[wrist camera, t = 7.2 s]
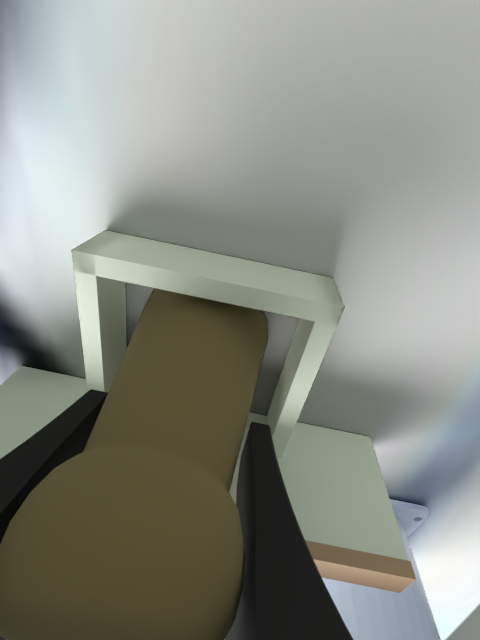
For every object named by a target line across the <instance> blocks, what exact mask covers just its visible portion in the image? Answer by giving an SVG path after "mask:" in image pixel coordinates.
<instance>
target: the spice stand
mask: <svg viewBox="0 0 480 640" xmlns="http://www.w3.org/2000/svg"><path fill="white" fill-rule="evenodd" d="M72 259H73V268H74V276H75V285H76V294H77V303H78V312H79V321H80V330H81V338H82V347H83V356H84V365H85V374H86V379H84V378H79V377H74V376H69V375H64V374H59V373H54V372H49V371H45V370H40V369H35V368H30V367H25V366H21V367H20V368H19V369H18V370H17V371H16V372H14V373H13V374H12V375H11V376H10V377H9V378H8V379H7V380H6V381H5V382H4V383H3V384H2V385H0V459H1V458H2V457H4V456H5V455H6V454H8V453H9V452H11V451H12V450H13V449H15V448H16V447H18V446H19V445H20V444H22V443H23V442H25V441H26V440H27V439H29V438H30V437H31V436H33V435H34V434H35V433H37V432H38V431H39V430H40V429H42V428H43V427H44V426H46V425H47V424H48V423H50V422H51V421H52V420H53V419H55V418H56V417H57V416H58V415H60V414H61V413H62V412H63V411H65V410H66V409H67V408H68V407H69V406H71V405H72V404H73V403H74V402H76V401H77V400H78V399H79V398H80V397H82V396H83V395H84V394H85V393H86V392H88V391H89V390H91V389H93V390H98V391H103V392H109V390H110V387H111V385H112V382H113V380H114V378H115V375H116V373H117V371H118V368H119V366H120V364H121V361H122V359H123V356H124V354H125V352H126V349H127V340H126V282H128V283H133V284H138V285H142V286H147V287H152V288H157V289H162V290H166V291H171V292H176V293H181V294H186V295H190V296H195V297H200V298H205V299H210V300H214V301H219V302H224V303H229V304H234V305H238V306H243V307H248V308H253V309H258V310H262V311H267V312H272V313H277V314H282V315H286V316H291V317H296V318H299V321H298V324H297V327H296V330H295V333H294V336H293V339H292V342H291V345H290V348H289V351H288V354H287V357H286V360H285V363H284V366H283V369H282V372H281V375H280V378H279V381H278V384H277V387H276V390H275V393H274V396H273V399H272V402H271V405H270V408H269V411H268V414H267V416H265V415H260V414H255V413H250V412H249V415H248V419H247V423H246V427H245V431H244V435H243V439H242V443H241V447H240V451H239V455H238V459H237V463H236V467H235V471H234V475H233V479H232V483H231V487H230V491H229V493H230V495H231V497H232V499H233V500H234V502H235V504H236V492H237V481H238V473H239V466H240V458H241V454H242V451H243V447H244V444H245V441H246V437H247V434H248V431H249V427H250V424H251V421H252V422H256V423H261V424H266V425H269V426H270V428H271V434H272V439H273V444H274V448H275V453H276V457H277V460H278V464H279V468H280V471H281V475H282V478H283V481H284V484H285V487H286V491H287V494H288V497H289V500H290V502H291V505H292V508H293V511H294V513H295V516H296V519H297V522H298V524H299V527H300V529H301V532H302V534H303V537H304V539H305V542H306V544H307V546H308V549H309V551H310V553H311V555H312V558H313V560H314V562H315V564H316V566H317V569H318V571H319V573H320V575H321V577H322V578H327V579H332V580H337V581H342V582H347V583H352V584H357V585H362V586H367V587H372V588H377V589H382V590H387V591H392V592H397V593H400V592H402V591H403V590H404V589H405V588H406V587H408V586H409V585H410V584H411V583H413V582H414V581H415V580H416V577H415V574H414V571H413V568H412V565H411V561H409V560H408V557H407V553H406V550H405V547H404V544H403V540H402V537H401V534H400V531H399V528H398V524H397V521H396V518H395V515H394V511H393V508H392V505H391V502H390V499H389V495H388V492H387V489H386V486H385V483H384V479H383V476H382V473H381V470H380V466H379V463H378V460H377V457H376V454H375V450H374V447H373V444H372V441H371V438H370V437H368V436H363V435H358V434H353V433H348V432H344V431H339V430H334V429H329V428H324V427H319V426H314V425H309V424H304V423H299V422H297V420H298V417H299V415H300V413H301V410H302V408H303V406H304V403H305V401H306V398H307V396H308V394H309V391H310V389H311V386H312V384H313V382H314V379H315V377H316V374H317V372H318V370H319V367H320V365H321V363H322V360H323V358H324V355H325V353H326V351H327V348H328V346H329V343H330V341H331V339H332V336H333V334H334V332H335V329H336V327H337V324H338V322H339V320H340V317H341V315H342V312H343V310H344V308H345V306H344V304H343V301H342V299H341V296H340V294H339V291H338V289H337V286H336V284H335V281H334V279H333V278H331V277H326V276H321V275H317V274H312V273H307V272H302V271H298V270H293V269H288V268H283V267H279V266H274V265H269V264H264V263H260V262H255V261H250V260H245V259H241V258H236V257H231V256H226V255H222V254H217V253H212V252H207V251H202V250H198V249H193V248H188V247H183V246H179V245H174V244H169V243H164V242H160V241H155V240H150V239H145V238H141V237H136V236H131V235H126V234H122V233H117V232H112V231H107V230H105V231H103V232H101V233H100V234H98V235H96V236H95V237H93V238H91V239H89V240H88V241H86V242H84V243H83V244H81V245H79V246H77V247H76V248H74V249H72Z"/></svg>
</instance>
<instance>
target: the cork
mask: <svg viewBox="0 0 480 640" xmlns="http://www.w3.org/2000/svg"><path fill="white" fill-rule="evenodd" d="M267 340H268V323H267V319H266V317H265V314H264V312H263V311H262V310H258V309H253V308H248V307H243V306H238V305H234V304H229V303H224V302H219V301H214V300H210V299H205V298H200V297H195V296H190V295H186V294H181V293H176V292H171V291H166V290H162V289H157V288H156V289H155V290H154V291H153V292H152V294H151V295H150V297H149V299H148V301H147V303H146V305H145V307H144V309H143V312H142V314H141V316H140V319H139V321H138V323H137V326H136V328H135V331H134V333H133V335H132V338H131V340H130V342H129V345H128V347H127V349H126V352H125V354H124V356H123V359H122V361H121V364H120V366H119V368H118V371H117V373H116V375H115V378H114V380H113V382H112V385H111V387H110V390H109V392H108V394H107V397H106V399H105V401H104V404H103V406H102V408H101V411H100V413H99V416H98V418H97V420H96V423H95V425H94V427H93V430H92V432H91V434H90V437H89V439H88V441H87V444H86V446H85V449H84V451H83V452H82V453H80V454H78V455H76V456H74V457H72V458H71V459H69V460H67V461H66V462H64V463H62V464H61V465H59V466H57V467H56V468H54V469H53V470H52V471H51V472H50V473H49V474H48V475H47V476H46V477H45V478H44V479H43V480H42V481H41V482H40V483H39V484H38V485H37V486H36V487H35V488H34V489H33V490H32V491H31V492H30V493H29V495H28V496H27V498H26V499H25V501H24V502H23V504H22V505H21V507H20V508H19V509H18V511H17V512H16V514H15V515H14V517H13V518H12V520H11V521H10V523H9V525H8V528H7V530H6V532H5V534H4V537H3V539H2V541H1V544H0V636H2V637H3V638H5V639H6V640H224V639H225V638H226V636H227V634H228V632H229V630H230V628H231V627H232V625H233V623H234V621H235V618H236V614H237V610H238V607H239V603H240V599H241V595H242V591H243V587H244V567H245V551H244V543H243V536H242V529H241V522H240V515H239V510H238V508H237V506H236V504H235V502H234V500H233V499H232V497H231V495H230V493H229V491H230V487H231V483H232V479H233V475H234V471H235V467H236V463H237V459H238V455H239V451H240V447H241V443H242V439H243V435H244V431H245V427H246V423H247V419H248V415H249V411H250V407H251V403H252V399H253V395H254V391H255V388H256V384H257V380H258V376H259V372H260V368H261V364H262V360H263V356H264V352H265V348H266V344H267Z"/></svg>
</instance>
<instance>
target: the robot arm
mask: <svg viewBox="0 0 480 640" xmlns="http://www.w3.org/2000/svg"><path fill="white" fill-rule="evenodd" d="M107 394H108V392H103V391H98V390H93V389H91V390H89V391H88V392H86V393H85V394H84V395H83V396H82V397H80V398H79V399H78V400H77V401H76V402H74V403H73V404H72V405H71V406H69V407H68V408H67V409H66V410H65V411H63V412H62V413H61V414H60V415H58V416H57V417H56V418H55V419H53V420H52V421H51V422H50V423H48V424H47V425H46V426H44V427H43V428H42V429H40V430H39V431H38V432H37V433H35V434H34V435H33V436H31V437H30V438H29V439H27V440H26V441H25V442H23V443H22V444H20V445H19V446H18V447H16V448H15V449H13V450H12V451H11V452H9V453H8V454H6V455H5V456H4V457H2V458H1V459H0V544H1V541H2V539H3V537H4V534H5V532H6V530H7V528H8V525H9V523H10V521H11V520H12V518H13V517H14V515H15V514H16V512H17V511H18V509H19V508H20V507H21V505H22V504H23V502H24V501H25V499H26V498H27V496H28V495H29V493H30V492H31V491H32V490H33V489H34V488H35V487H36V486H37V485H38V484H39V483H40V482H41V481H42V480H43V479H44V478H45V477H46V476H47V475H48V474H49V473H50V472H51V471H52V470H53V469H54V468H56V467H57V466H59V465H61V464H62V463H64V462H66V461H67V460H69V459H71V458H72V457H74V456H76V455H78V454H80V453H82V452H83V451H84V449H85V446H86V444H87V441H88V439H89V437H90V434H91V432H92V430H93V427H94V425H95V423H96V420H97V418H98V416H99V413H100V411H101V408H102V406H103V404H104V401H105V399H106V397H107ZM390 502H391V505H392V508H393V511H394V515H395V518H396V521H397V524H398V528H399V531H400V534H401V537H402V540H403V544H404V547H405V550H406V553H407V557H408V560H409V561H411V565H412V568H413V571H414V574H415V577H416V580H415V581H414V582H413V583H411V584H410V585H409V586H408V587H406V588H405V589H404V590H403V591H402V592H400V593H397V592H392V591H387V590H382V589H377V588H372V587H367V586H362V585H357V584H352V583H347V582H342V581H337V580H332V579H327V578H322V577H321V575H320V573H319V571H318V569H317V566H316V564H315V562H314V560H313V558H312V555H311V553H310V551H309V549H308V546H307V544H306V542H305V539H304V537H303V534H302V532H301V529H300V527H299V524H298V522H297V519H296V516H295V513H294V511H293V508H292V505H291V502H290V500H289V497H288V494H287V491H286V487H285V484H284V481H283V478H282V475H281V471H280V468H279V464H278V460H277V457H276V453H275V448H274V444H273V439H272V434H271V428H270V426H269V425H266V424H261V423H256V422H252V421H251V424H250V427H249V431H248V434H247V437H246V441H245V444H244V447H243V451H242V454H241V458H240V466H239V473H238V481H237V492H236V506H237V508H238V510H239V515H240V522H241V529H242V536H243V543H244V551H245V567H244V587H243V591H242V595H241V599H240V603H239V607H238V610H237V614H236V618H235V621H234V623H233V625H232V627H231V628H230V630H229V632H228V634H227V636H226V638H225V640H440V637H439V633H438V630H437V627H436V624H435V621H434V618H433V615H432V612H431V609H430V606H429V603H428V600H427V597H426V593H425V590H424V587H423V584H422V581H421V578H420V575H419V572H418V569H417V566H416V563H415V560H414V557H413V553H412V550H411V547H410V544H409V541H408V537H409V536H410V535H411V534H412V533H413V532H414V531H415V530H416V529H417V528H418V527H419V526H420V525H421V524H422V523H423V522H424V521H425V520H426V519H427V518H428V517H429V515H430V514H429V511H428V509H427V507H425V506H422V505H417V504H412V503H407V502H402V501H397V500H392V499H390ZM0 640H6V639H5V638H3V637H2V636H0Z"/></svg>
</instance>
